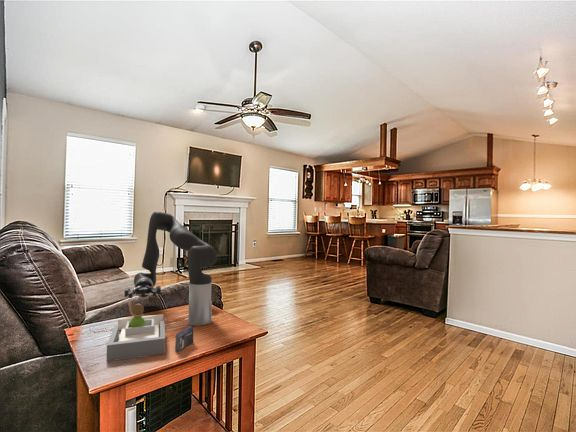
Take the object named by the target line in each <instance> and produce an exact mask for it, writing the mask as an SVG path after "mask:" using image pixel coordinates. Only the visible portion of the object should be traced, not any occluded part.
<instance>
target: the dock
mask: <svg viewBox="0 0 576 432" xmlns="http://www.w3.org/2000/svg"><path fill="white" fill-rule="evenodd" d="M111 331H112V332H111V334H110V336H109V339H108V342H107V344H106V362H111V361H118V360H124V359H125V360H126V359H132V358H139V357H140V358H141V357H149V356H155V355H162V354H166V330H165V320H163V321H160V325H159V337H154V338H145V339H137V340H128V341H120V342H118V340H119V337H120V330H119V326H118V325H114V327H113V329H112V330H111Z"/></svg>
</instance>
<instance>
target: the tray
mask: <svg viewBox="0 0 576 432" xmlns="http://www.w3.org/2000/svg"><path fill="white" fill-rule="evenodd" d="M132 318H134V316H131V317H130V316H129V317H120V318H117V326H119V331H120V330H121V331H120V333H119V340H118V342H120V341H128V340H137V339H145V338H154V337H160V321H164V314H163V313H162V314H152V315H143V316H142V318H143V319H144V320H145V325H144V326H141V327H131V328H130V327H129V323H130V321H131V319H132Z"/></svg>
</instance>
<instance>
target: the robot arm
mask: <svg viewBox="0 0 576 432" xmlns="http://www.w3.org/2000/svg"><path fill="white" fill-rule="evenodd" d="M147 230H148V231H147V238H146V247H145V253H144V256H143V259H142V262H141V263H142V264H141V268H143V269H145V270H147V271H149V272H150V273H146V272H145V273H144V272H138V273H136V274H135V275H134V278H133V284H134V287H133V288H130V287H126V288H125V289H124V297H125V298H126V297H127V298H129V299H132V298H133V297H137V296H138V297H140V298H146V297H148V296H152V297H155V296H157V295H160V294H162V290H161V289H162V288H161V285H157V286H156V284H157V267H158V262H159V259H160V248H159V244H158V242H157V241H158V240H157V231H163V232H167V233H169V234H168V235H169V239H170V241H171V242H172V244H173V245H175V246H176V247H177V248H179V249H180V250H183V251H187V252H188V253H187V254H188V255H187V258H188V260H187V261H188V263H187V265H188V267H187V268H188V278H189V285H188V286H189V288H188V291H189V292H188V318H187V319H188V320H187V321H188V325H189V326H195V327H197V326H205V325H208V324H212V315H213V314H212V312H213V309H212V308H213V307H212V306H213V301H212V279H213V278H212V276H211V275H210V274H208V273H204V272H203V271H202V270H203V269H202V268H205V267H210V266H213V265H214V264H216V262H217V260H218V255H217V253H218V252H217V251H216V249H215V248H214V247H213V246H212V245H210V244H209V243H207V242H206V241H203V240H202V239H200V237H197V235H195V234H194V233H192V232H191V231H190V230H189V229H188V228H187V227H185V226H184V225H182V224H181V223H180V222H179V221H177V219H176V218H175V216H173V215H172V214H170V213H167V212H162V211H157V210H156V211H154V212H152V214H151V216H150V218H149V222H148V229H147Z"/></svg>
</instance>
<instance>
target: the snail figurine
mask: <svg viewBox="0 0 576 432" xmlns="http://www.w3.org/2000/svg"><path fill="white" fill-rule="evenodd" d="M127 302H128V310H129V314H130V315H131V317H134V318H132V319H131V321H130V323H129V327H130V328H131V327H141V326H144V325H145V320H144V319H143V318H142V316H145V314H144V312H145V308H144V306H143V304H141V303H136V304H134V305H133V302H132V301H131V298H129V299H128V300H127Z"/></svg>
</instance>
